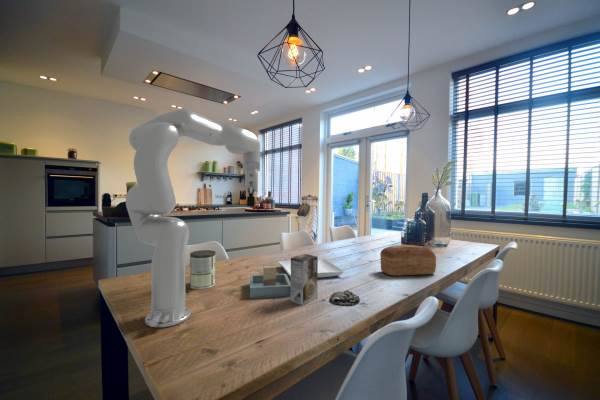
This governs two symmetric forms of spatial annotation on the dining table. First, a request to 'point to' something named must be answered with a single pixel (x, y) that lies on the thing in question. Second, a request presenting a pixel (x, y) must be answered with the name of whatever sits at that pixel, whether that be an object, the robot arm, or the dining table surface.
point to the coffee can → (202, 269)
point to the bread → (407, 260)
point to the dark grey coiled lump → (344, 298)
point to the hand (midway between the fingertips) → (250, 205)
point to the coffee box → (304, 278)
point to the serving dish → (269, 287)
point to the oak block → (269, 275)
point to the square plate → (323, 268)
